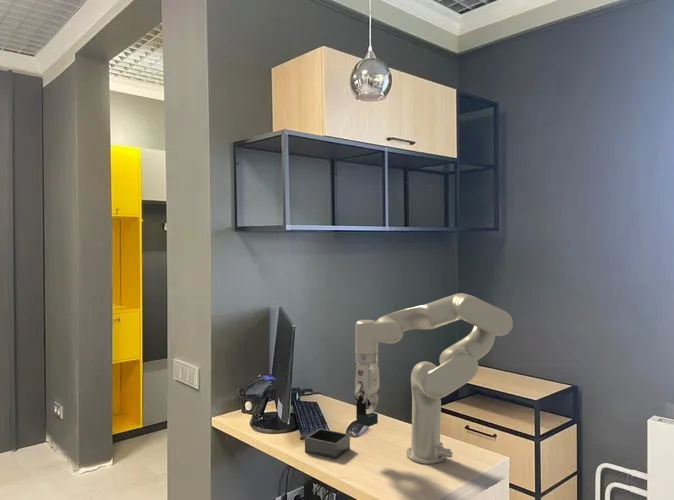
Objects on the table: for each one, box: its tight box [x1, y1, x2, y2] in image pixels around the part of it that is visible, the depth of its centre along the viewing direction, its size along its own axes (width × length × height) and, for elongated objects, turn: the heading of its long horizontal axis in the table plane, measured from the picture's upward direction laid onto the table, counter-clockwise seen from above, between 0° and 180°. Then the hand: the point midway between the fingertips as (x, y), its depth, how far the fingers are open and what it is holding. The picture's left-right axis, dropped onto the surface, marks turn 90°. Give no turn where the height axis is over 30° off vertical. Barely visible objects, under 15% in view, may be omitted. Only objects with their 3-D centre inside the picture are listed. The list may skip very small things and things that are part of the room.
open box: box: [304, 427, 351, 460], centre depth 177 cm, size 12×10×5 cm
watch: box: [356, 391, 379, 427], centre depth 170 cm, size 6×8×11 cm
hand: (366, 410), depth 170 cm, fingers closed on watch, 8 cm apart
